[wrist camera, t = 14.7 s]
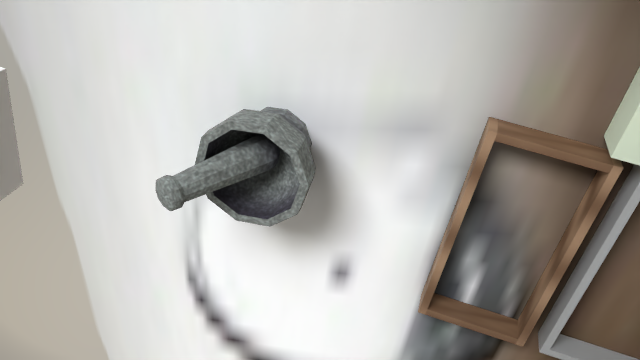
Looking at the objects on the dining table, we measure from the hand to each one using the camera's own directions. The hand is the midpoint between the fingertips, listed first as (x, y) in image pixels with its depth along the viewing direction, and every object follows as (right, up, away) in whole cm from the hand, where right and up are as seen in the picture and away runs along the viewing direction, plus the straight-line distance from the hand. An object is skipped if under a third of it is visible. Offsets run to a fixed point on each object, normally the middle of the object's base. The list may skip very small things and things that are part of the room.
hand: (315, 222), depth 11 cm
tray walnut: (+17, -4, +39) cm, 43 cm away
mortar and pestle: (-4, +5, +41) cm, 42 cm away
